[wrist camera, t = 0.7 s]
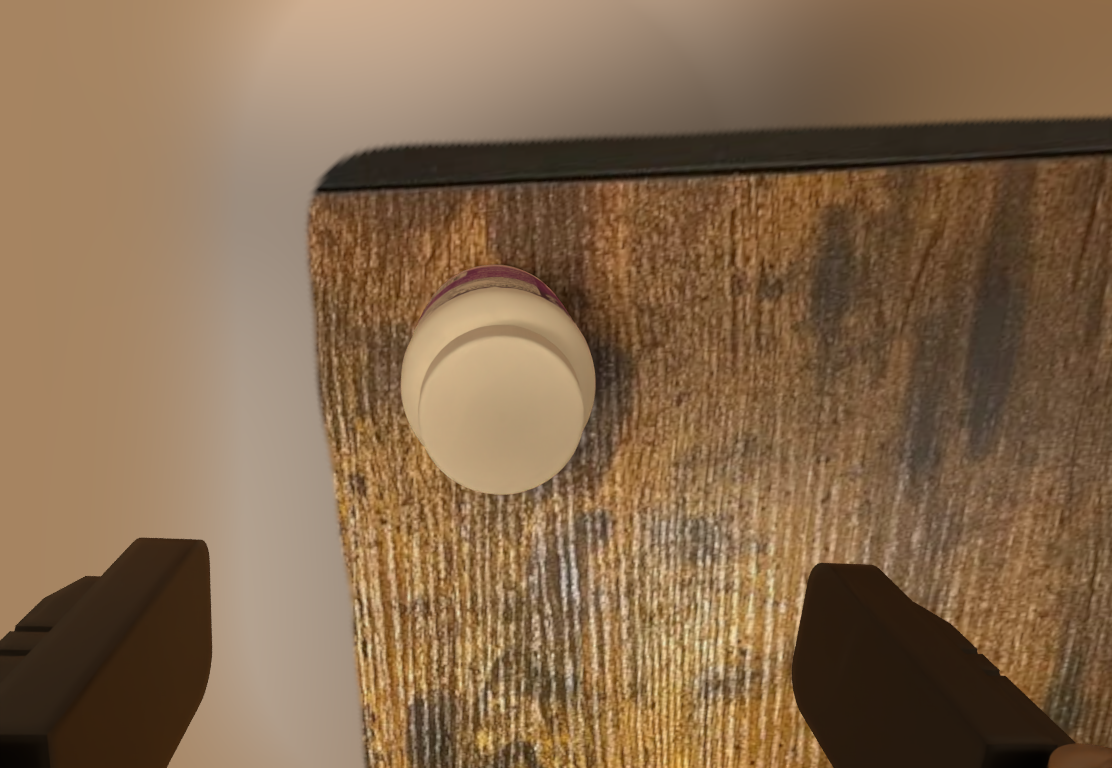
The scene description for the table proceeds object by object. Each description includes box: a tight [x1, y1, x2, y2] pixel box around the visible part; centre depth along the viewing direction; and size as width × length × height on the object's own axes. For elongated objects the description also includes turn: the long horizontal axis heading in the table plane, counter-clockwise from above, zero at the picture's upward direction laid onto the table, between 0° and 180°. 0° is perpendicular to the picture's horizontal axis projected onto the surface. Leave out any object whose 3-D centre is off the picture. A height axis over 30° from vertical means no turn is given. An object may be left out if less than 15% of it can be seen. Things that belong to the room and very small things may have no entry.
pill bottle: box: [401, 265, 595, 495], centre depth 23 cm, size 5×5×10 cm
